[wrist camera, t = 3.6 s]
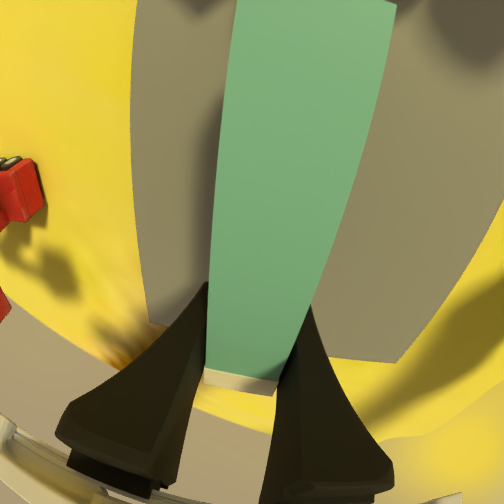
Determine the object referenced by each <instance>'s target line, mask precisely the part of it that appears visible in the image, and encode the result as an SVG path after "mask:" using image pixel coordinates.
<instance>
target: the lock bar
mask: <svg viewBox="0 0 504 504" xmlns="http://www.w3.org/2000/svg"><path fill="white" fill-rule="evenodd" d="M396 7H397V5H396V4H393V3H391V2H388V1H385V0H237V5H236V12H235V18H234V25H233V32H232V39H231V46H230V54H229V61H228V69H227V77H226V85H225V94H224V102H223V111H222V121H221V130H220V140H219V150H218V161H217V172H216V184H215V196H214V209H213V222H212V237H211V252H210V270H209V289H208V311H207V337H206V363H205V367H204V384H207V385H211V386H216V387H221V388H226V389H231V390H236V391H241V392H247V393H253V394H259V395H265V396H271V397H272V396H273V394H274V392H275V390H276V387H277V385H278V383H279V377H280V374H281V372H282V370H283V368H284V366H285V363H286V361H287V359H288V356H289V354H290V352H291V350H292V347H293V345H294V343H295V340H296V338H297V335H298V333H299V331H300V328H301V326H302V323H303V321H304V319H305V316H306V314H307V311H308V309H309V306H310V304H311V301H312V299H313V296H314V294H315V291H316V288H317V286H318V283H319V281H320V278H321V275H322V273H323V270H324V267H325V265H326V262H327V259H328V256H329V254H330V251H331V248H332V245H333V242H334V240H335V237H336V234H337V231H338V228H339V225H340V222H341V219H342V216H343V213H344V210H345V207H346V204H347V201H348V198H349V195H350V192H351V189H352V186H353V182H354V179H355V176H356V173H357V170H358V166H359V163H360V160H361V156H362V153H363V149H364V146H365V142H366V139H367V135H368V132H369V128H370V124H371V121H372V117H373V113H374V109H375V105H376V101H377V97H378V93H379V89H380V85H381V81H382V77H383V72H384V68H385V63H386V59H387V54H388V50H389V45H390V40H391V35H392V30H393V24H394V19H395V13H396Z"/></svg>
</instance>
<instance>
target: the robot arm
mask: <svg viewBox="0 0 504 504" xmlns="http://www.w3.org/2000/svg"><path fill="white" fill-rule="evenodd" d="M208 289H209V282H207V281H206V282H204V283H203V284H202V286H201V287H200V289H199V290H198V292H197V293H196V295H195V296H194V297H193V299H192V300H191V301H190V303H189V304H188V305H187V307H186V308H185V309H184V310H183V311H182V313H181V314H180V315H179V316H178V317H177V319H176V320H175V321H174V322H173V323H172V324H171V325H170V326H169V328H168V329H167V330H166V331H165V332H164V333H163V334H162V335H161V336H160V337H159V338H158V339H157V340H156V341H155V342H154V343H153V344H152V345H151V346H150V347H149V348H148V349H147V350H145V351H144V352H143V353H142V354H141V355H140V356H139V357H137V358H136V359H135V360H134V361H133V362H131V363H130V364H129V365H128V366H126V367H125V368H124V369H122V370H121V371H120V372H118V373H117V374H116V375H114V376H113V377H111V378H110V379H108V380H107V381H105V382H104V383H102V384H101V385H99V386H98V387H96V388H95V389H93V390H91V391H89V392H88V393H86V394H84V395H82V396H81V397H79V398H77V399H75V400H74V401H72V402H70V403H69V405H68V406H67V408H66V410H65V411H64V413H63V415H62V416H61V419H60V421H59V424H58V426H57V428H56V431H55V436H56V437H57V438H58V439H59V440H60V441H62V442H63V443H64V444H66V445H67V446H69V447H70V448H72V450H71V453H70V456H68V455H67V454H65V453H63V452H60V451H59V450H57V449H55V448H53V447H51V446H50V445H48V444H46V443H44V442H42V441H41V440H39V439H37V438H35V437H34V436H32V435H31V434H29V433H27V432H26V431H24V430H23V429H21V428H19V427H18V426H17V425H16V424H15V423H13V422H12V421H11V420H9V419H8V418H7V417H5V416H4V415H3V414H1V413H0V480H2V481H3V482H4V483H5V484H6V485H7V486H8V487H10V488H11V489H12V490H13V491H14V492H16V493H17V494H18V495H19V496H21V497H22V498H23V499H24V500H26V501H27V502H28V503H30V504H131V503H128V502H125V501H122V500H119V499H117V498H114V497H111V496H109V495H108V492H107V490H106V489H108V490H110V491H113V492H116V493H118V494H121V495H123V496H126V497H129V498H132V499H134V500H138V501H140V502H143V503H146V504H210V503H204V502H200V501H195V500H191V499H186V498H182V497H178V496H175V495H171V494H167V493H164V492H160V491H159V490H160V488H164V489H168V486H169V485H171V484H173V483H175V482H176V479H177V474H178V468H179V463H180V458H181V453H182V449H183V444H184V439H185V435H186V430H187V426H188V421H189V417H190V413H191V409H192V405H193V400H194V397H195V394H196V390H197V387H198V385H199V382H200V379H201V376H202V373H203V371H204V367H205V363H206V337H207V311H208ZM393 487H394V469H393V463H392V461H391V459H390V458H389V457H388V456H387V455H386V454H385V452H384V451H383V450H382V449H381V448H380V446H379V445H378V444H377V443H376V441H375V440H374V439H373V437H372V436H371V435H370V433H369V432H368V430H367V429H366V428H365V426H364V424H363V423H362V421H361V420H360V418H359V417H358V415H357V414H356V412H355V411H354V409H353V407H352V406H351V404H350V402H349V400H348V399H347V397H346V395H345V393H344V391H343V389H342V387H341V385H340V383H339V381H338V379H337V377H336V375H335V373H334V370H333V368H332V366H331V364H330V361H329V359H328V356H327V354H326V351H325V348H324V346H323V343H322V340H321V337H320V334H319V331H318V328H317V325H316V322H315V319H314V315H313V311H312V307H311V304H310V306H309V309H308V311H307V314H306V316H305V319H304V321H303V323H302V326H301V328H300V331H299V333H298V335H297V338H296V340H295V343H294V345H293V347H292V350H291V352H290V354H289V356H288V359H287V361H286V363H285V366H284V368H283V370H282V372H281V374H280V377H279V383H278V385H277V400H276V414H275V421H274V427H273V434H272V440H271V445H270V451H269V456H268V461H267V466H266V471H265V476H264V481H263V485H262V490H261V494H260V498H259V504H372V503H374V495H375V494H378V493H382V492H385V491H388V490H390V489H392V488H393ZM421 504H462V493H461V492H459V493H455V494H452V495H448V496H444V497H441V498H437V499H433V500H430V501H428V502H425V503H421Z"/></svg>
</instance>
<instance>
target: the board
mask: <svg viewBox="0 0 504 504" xmlns="http://www.w3.org/2000/svg"><path fill="white" fill-rule="evenodd" d="M385 1H388V2H391V3H393V4H396V5H397V7H396V13H395V19H394V24H393V30H392V35H391V40H390V45H389V50H388V54H387V59H386V63H385V68H384V72H383V77H382V81H381V85H380V89H379V93H378V97H377V101H376V105H375V109H374V113H373V117H372V121H371V124H370V128H369V132H368V135H367V139H366V142H365V146H364V149H363V153H362V156H361V160H360V163H359V166H358V170H357V173H356V176H355V179H354V182H353V186H352V189H351V192H350V195H349V198H348V201H347V204H346V207H345V210H344V213H343V216H342V219H341V222H340V225H339V228H338V231H337V234H336V237H335V240H334V242H333V245H332V248H331V251H330V254H329V256H328V259H327V262H326V265H325V267H324V270H323V273H322V275H321V278H320V281H319V283H318V286H317V288H316V291H315V294H314V296H313V299H312V301H311V307H312V311H313V315H314V319H315V322H316V325H317V328H318V331H319V334H320V337H321V340H322V343H323V346H324V348H325V351H326V354H327V356H328V357H334V358H343V359H352V360H361V361H372V362H383V363H396V362H397V361H398V360H399V359H400V358H401V357H402V355H403V354H404V353H405V352H406V351H407V349H408V348H409V347H410V346H411V345H412V343H413V342H414V341H415V340H416V338H417V337H418V336H419V335H420V333H421V332H422V331H423V329H424V328H425V327H426V326H427V324H428V323H429V322H430V320H431V319H432V318H433V316H434V315H435V314H436V312H437V311H438V309H439V308H440V307H441V305H442V304H443V302H444V301H445V299H446V298H447V297H448V295H449V294H450V292H451V291H452V289H453V288H454V286H455V285H456V283H457V282H458V280H459V279H460V277H461V275H462V274H463V272H464V271H465V269H466V267H467V266H468V264H469V262H470V261H471V259H472V257H473V256H474V254H475V252H476V251H477V249H478V247H479V245H480V244H481V242H482V240H483V238H484V236H485V234H486V233H487V231H488V229H489V227H490V225H491V223H492V221H493V219H494V217H495V215H496V213H497V211H498V209H499V207H500V205H501V203H502V201H503V198H504V0H385ZM236 5H237V0H138V1H137V9H136V17H135V27H134V38H133V51H132V68H131V99H130V133H131V164H132V183H133V197H134V209H135V220H136V230H137V239H138V248H139V256H140V263H141V270H142V277H143V284H144V290H145V297H146V303H147V308H148V314H149V319H150V322H152V323H156V324H159V325H163V326H167V327H169V326H170V325H171V324H172V323H173V322H174V321H175V320H176V319H177V317H178V316H179V315H180V314H181V313H182V311H183V310H184V309H185V308H186V307H187V305H188V304H189V303H190V301H191V300H192V299H193V297H194V296H195V295H196V293H197V292H198V290H199V289H200V287H201V286H202V284H203V283H204V282H206V281H207V282H209V270H210V252H211V237H212V222H213V209H214V196H215V184H216V172H217V161H218V150H219V140H220V130H221V121H222V111H223V102H224V94H225V85H226V77H227V69H228V61H229V54H230V46H231V39H232V32H233V25H234V18H235V12H236Z"/></svg>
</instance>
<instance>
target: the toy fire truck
mask: <svg viewBox="0 0 504 504" xmlns="http://www.w3.org/2000/svg"><path fill="white" fill-rule="evenodd" d="M43 206H44V201H43V198H42V194H41V190H40V187H39V183H38V179H37V176H36V172H35V167H34V163H33V160H32V159H30V158H28V159H23V160H22V159H21V157H20V156H16V157H12V158H10V159H8V160H7V161H6V159H5V158H0V232H1V231H2V230H3V229H4V228H5V227H6V226H7V225H8V224H9V221H19V222H24V223H25V222H27V221H28V220H29V219H30V218H31V217H32V216H33V215H34V214H35V213H36V212H37V211H39V210H40V209H41V208H42V207H43ZM11 308H12V307H11V305H10V303H9V301H8V300H7V298H6V296H5V294H4V292H3V291H2V289H1V287H0V323H1V321H2V320H3V319H4V318H5V316H7V314H8V313H9V312H10V310H11Z"/></svg>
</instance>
